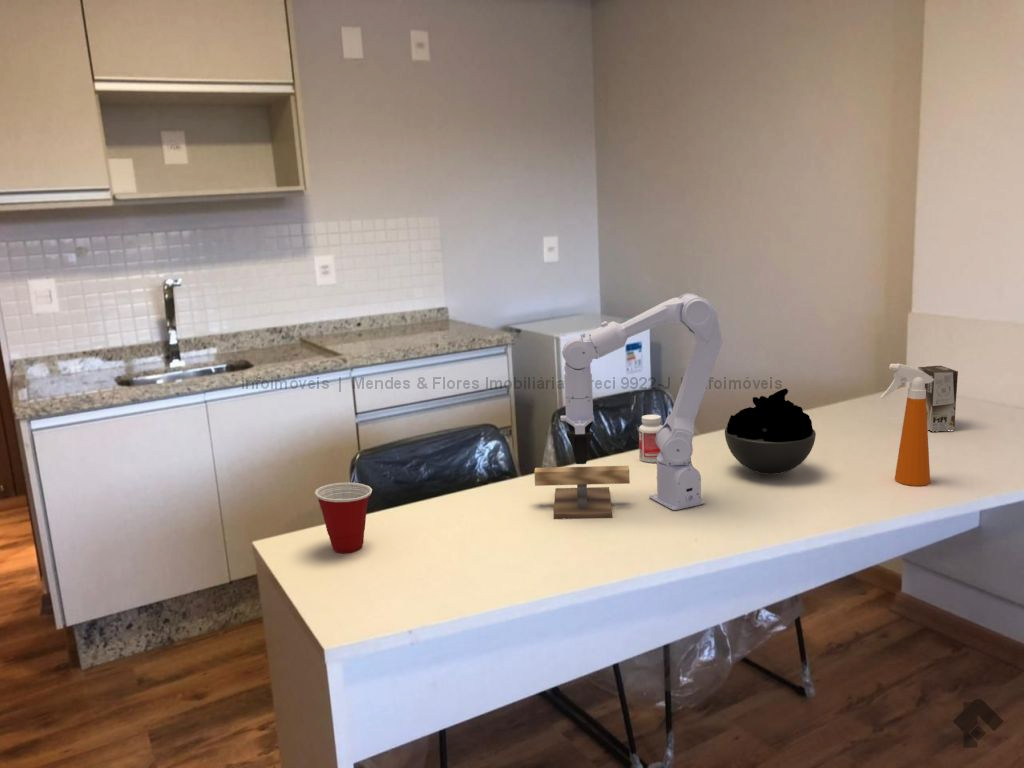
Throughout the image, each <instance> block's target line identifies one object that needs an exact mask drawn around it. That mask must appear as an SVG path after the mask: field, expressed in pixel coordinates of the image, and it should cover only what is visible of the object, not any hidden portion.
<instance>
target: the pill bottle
mask: <svg viewBox="0 0 1024 768" xmlns="http://www.w3.org/2000/svg"><path fill="white" fill-rule="evenodd" d="M661 422H662V416H661V415H658V414H645V415H642V416H641V423H642V424H641V425H640V426H639V427H638V438H639V440H638V442H639V443H638V444H639V446H638V447H639V448H638V449H639V459H640V461H642V462H644V463H657V456H658V455H659V453H660V449H659V448H658V446H657V444H656V441H655V438H656V434H657V432H658V431H659V429H660V428H661V427H662V426H663V425H662V424H661Z"/></svg>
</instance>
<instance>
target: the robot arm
mask: <svg viewBox="0 0 1024 768" xmlns="http://www.w3.org/2000/svg"><path fill="white" fill-rule="evenodd" d="M718 317H719V315H718V312H717V310H716V309H715V307H714V306H713V304H712V303H711V302H710V301H709V300H708V299H706V298H704V297H700V296H699V295H697V294H695V293H692V292H689V293H687V292H686V293H684V294H681V295H680V296H678V297H677V296H676V297H673V298H670V299H668V300H665V301H663V302H661V303H660V304H657V305H655V306H653V307H651V308H650V309H648V310H646V311H643V312H641V313H640V314H637V315H636V316H634V317H632V318H630V319H628V320H626V321H624V322H622V323H619V322H616V321H614V320H613V321H610V322H608V321H606V320H605V321H603V322H601V323H600V327H598V328H595V329H593V330H590V331H589V332H584V331H583V332H581V333H580V334H579V335H580V337H581V338H580V337H571V338H570V339H568V340H567V341H566V342H565V344H564V345H563V347H562V351H561V353H562V354H561V355H562V357H563V359H564V361H565V362H564V372H565V374H564V375H563V379H564V398H565V399H564V401H565V402H564V403H565V414H564V415H560V421H561V422H566V425H567V426H568V428H569V430H566V432H565V434H566V437H567V439H568V441H569V442H570V446H571V448H572V449H571V450H572V452H573V458H574V461H575V464H576V465H586V464H587V462H588V456H589V450H590V449H589V448H590V444H591V442H592V440H593V437H594V435H595V433H594V431H590V430H591V428H592V425H593V423H594V420H595V415H594V407H593V406H594V403H593V402H594V401H593V397H594V396H593V374H592V372H591V371H592V370H591V363H592V362H593V360H594V359H595V360H598V359H600V358H603V357H605V356H606V355H608V354H611V353H613V352H616V351H618V350H619V349H622V348H624V347H625V345H626V343H627V340H628V339H629V338H631V337H633V336H635V335H639V334H640V333H643V332H646V331H648V330H650V329H653V328H656V327H658V326H659V325H662V324H668V325H669V324H671V325H676V326H681V324H683V325H684V326H685V327H686V328H687V329H688V331H689V333H690V336H692V338H693V340H694V343H695V344H694V346H693V350H692V352H691V356H690V358H689V361H688V364H687V366H686V370H685V373H684V374H683V375H684V376H683V378H682V381H681V385H680V386H679V390H678V392H677V393H678V394H677V396H676V398H675V401H674V404H673V407H672V410H671V412H670V413H669V414H668V416H667V417H666V419H665V422H664V424H663V425H662V427H661V428H660V429H659V431H658V432H657V434H656V438H655V441H656V444H657V446H658V448H659V449H660V453H659V455H658V456H657V462H656V492H657V493H654V494H650V495H649V496H648V497H649V498H650V500H653V501H655V502H657V503H659V504H661V505H662V506H664V507H666V508H668V509H670V510H672V511H677V510H683V509H688V508H691V507H694V506H695V507H696V506H700V505H704V504H705V501H704V500H702V477H701V474H700V471H699V470H698V469H697V468H696V467H695V466H694V465H693V463H692V455H693V451H694V450H693V449H694V448H693V439H694V435H695V420H696V418H697V415H698V412H699V410H700V407H701V404H702V401H703V397H704V395H705V392H706V390H707V387H708V384H709V381H710V379H711V376H712V374H713V370H714V368H715V367H714V366H715V365H716V361H717V358H718V355H719V353H720V350H721V347H722V344H723V338H722V337H723V336H722V332H721V328H720V324H719V319H718Z"/></svg>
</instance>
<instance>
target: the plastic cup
mask: <svg viewBox="0 0 1024 768" xmlns="http://www.w3.org/2000/svg"><path fill="white" fill-rule="evenodd" d="M372 491H373V489H372V488H371V486H369V485H366V484H364V483H357V482H336V483H329V484H326V485H322V486H320V487H318V488H316V489H315V491H314V496H315V497H316V498H317V500H318V503H319V508H320V510H321V514H322V516H323V520H324V524H325V528H326V532H327V535H328V536H329V541H330V544H331V547H332V550H333V551H334V552H335V553H338V554H350V553H355V552H357V551H359V550H361V549H363V545H364V539H365V531H366V530H365V529H366V522H367V521H366V518H367V510H368V503H369V498H370V496H371V495H372Z"/></svg>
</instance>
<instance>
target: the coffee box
mask: <svg viewBox="0 0 1024 768" xmlns="http://www.w3.org/2000/svg"><path fill="white" fill-rule="evenodd" d="M918 370H920V371H923V372H924V373H926V374H928V375H929V376H930V377H932V378H933V379H934V381H932V382H930V383H925V389H926V410H927V429H928V430H930V431H948V430H950V431H949V432H952V431H951V430H954V431H955V425H956V422H955V421H956V407H957V393H958V392H957V391H958V378H959V377H958V376H959V371H957V370H955V369H952V368H950V367H946V366H943V365H928V366H918ZM930 431H929V432H930Z"/></svg>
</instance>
